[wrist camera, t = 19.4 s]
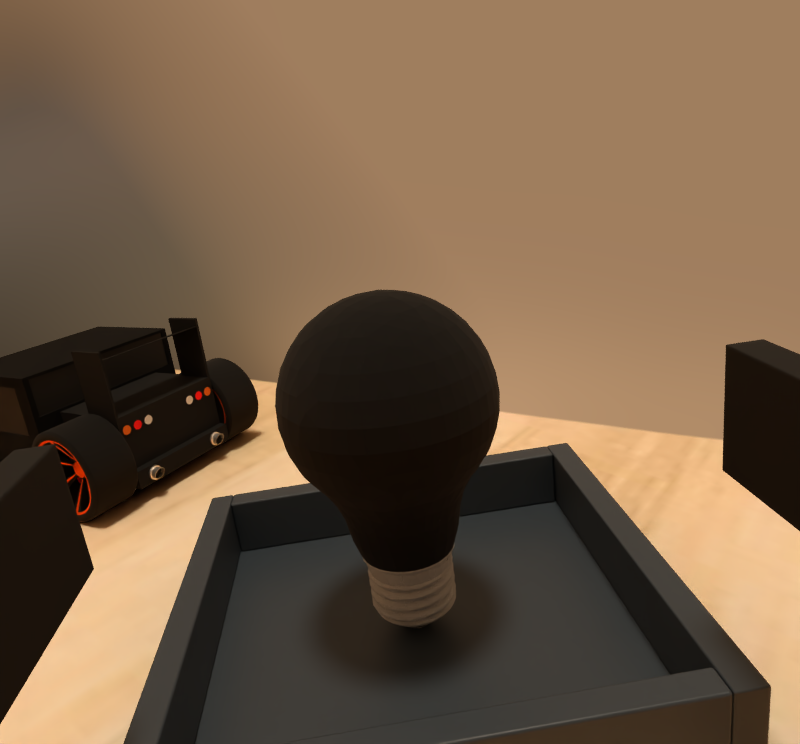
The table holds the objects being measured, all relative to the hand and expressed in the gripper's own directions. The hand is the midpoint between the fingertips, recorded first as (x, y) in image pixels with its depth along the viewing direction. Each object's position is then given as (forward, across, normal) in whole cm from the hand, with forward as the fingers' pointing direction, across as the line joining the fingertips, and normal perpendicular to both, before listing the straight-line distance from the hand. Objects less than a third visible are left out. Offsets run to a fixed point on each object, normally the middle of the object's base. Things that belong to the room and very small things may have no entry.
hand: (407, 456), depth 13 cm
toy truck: (+25, -18, -8) cm, 32 cm away
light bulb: (+5, 0, -8) cm, 9 cm away
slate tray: (+5, 0, -8) cm, 9 cm away
